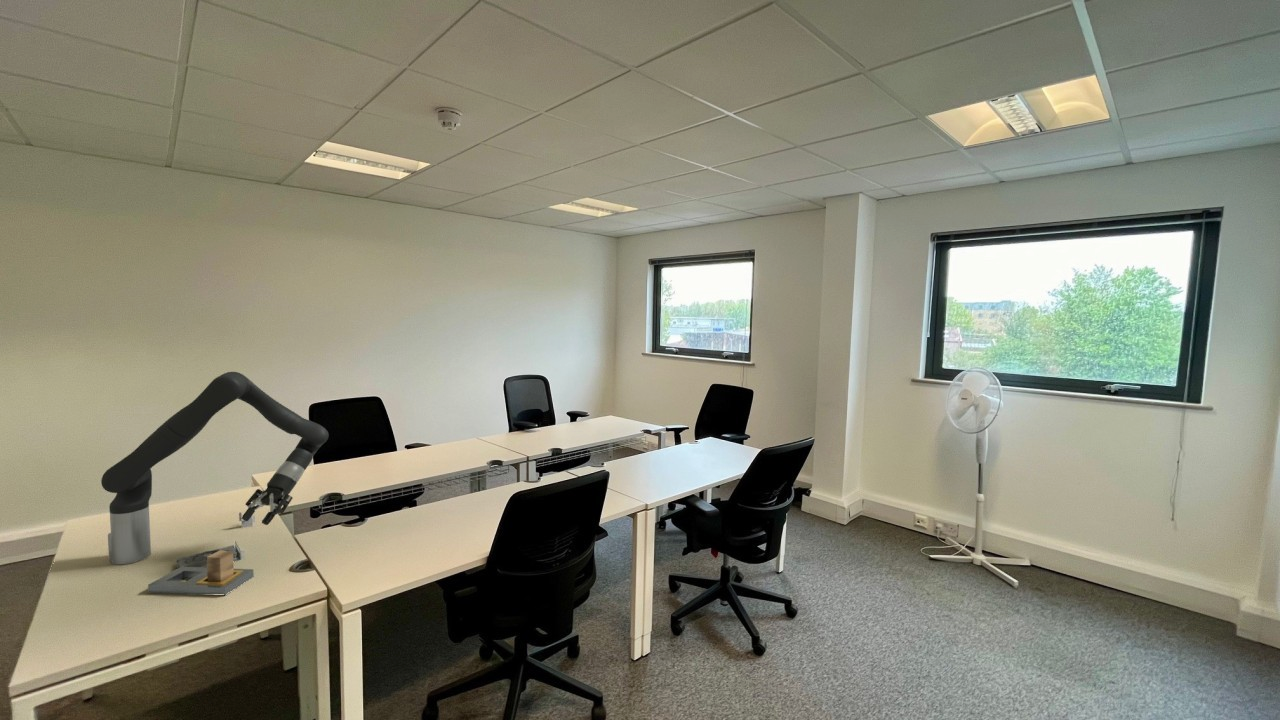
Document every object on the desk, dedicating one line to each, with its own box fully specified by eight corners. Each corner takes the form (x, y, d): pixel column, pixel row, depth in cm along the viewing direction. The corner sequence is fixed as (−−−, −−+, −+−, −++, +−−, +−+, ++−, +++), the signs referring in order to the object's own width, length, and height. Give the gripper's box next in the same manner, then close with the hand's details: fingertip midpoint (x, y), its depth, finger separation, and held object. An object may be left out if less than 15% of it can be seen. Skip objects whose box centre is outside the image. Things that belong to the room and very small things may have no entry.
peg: (207, 588, 153) (206, 556, 152) (221, 580, 158) (220, 550, 157) (221, 589, 153) (220, 558, 152) (233, 582, 157) (233, 551, 156)
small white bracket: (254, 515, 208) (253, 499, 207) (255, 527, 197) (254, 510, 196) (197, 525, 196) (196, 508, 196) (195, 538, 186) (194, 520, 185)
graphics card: (238, 538, 180) (244, 549, 171) (239, 548, 180) (245, 560, 172) (175, 554, 167) (177, 566, 159) (175, 564, 168) (178, 577, 159)
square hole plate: (148, 592, 150) (147, 583, 149) (181, 574, 160) (181, 565, 160) (225, 595, 150) (225, 586, 149) (253, 576, 161) (253, 568, 160)
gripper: (262, 469, 173) (229, 514, 163) (295, 474, 170) (262, 520, 159) (277, 480, 179) (246, 523, 169) (309, 485, 175) (279, 529, 165)
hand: (254, 522), depth 164 cm, fingers open, 8 cm apart
